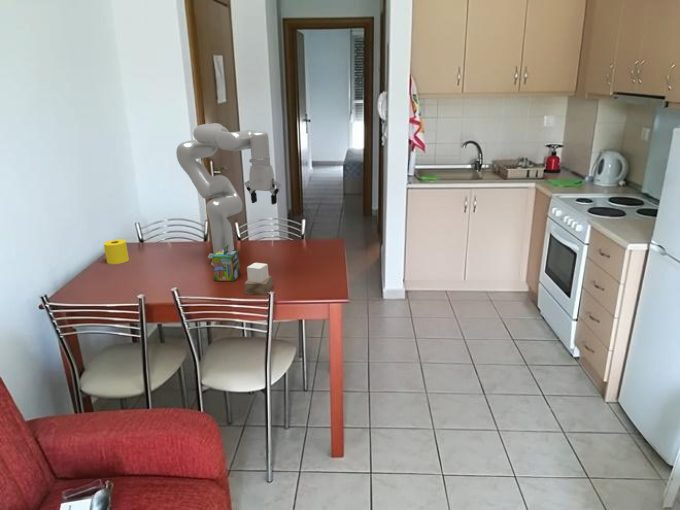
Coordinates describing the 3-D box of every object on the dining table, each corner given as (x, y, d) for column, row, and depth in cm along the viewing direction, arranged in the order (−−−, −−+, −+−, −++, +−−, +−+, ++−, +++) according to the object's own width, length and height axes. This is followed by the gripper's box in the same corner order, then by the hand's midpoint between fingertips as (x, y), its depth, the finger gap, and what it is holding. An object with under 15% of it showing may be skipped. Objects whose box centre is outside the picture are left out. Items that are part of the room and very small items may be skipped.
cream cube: (248, 281, 213) (246, 267, 211) (256, 276, 218) (254, 262, 216) (260, 283, 211) (259, 268, 209) (268, 277, 216) (267, 264, 214)
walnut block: (245, 294, 212) (244, 283, 211) (251, 286, 221) (250, 275, 219) (267, 295, 211) (266, 283, 209) (272, 287, 219) (271, 275, 218)
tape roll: (119, 264, 252) (116, 246, 249) (102, 263, 256) (99, 244, 253) (133, 258, 261) (130, 240, 258) (116, 256, 265) (113, 238, 262)
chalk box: (221, 273, 236) (217, 242, 231) (241, 274, 235) (238, 242, 230) (214, 281, 227) (210, 248, 223) (234, 281, 226) (231, 248, 221)
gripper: (238, 163, 217) (241, 203, 223) (274, 164, 210) (277, 206, 216) (248, 160, 224) (251, 200, 229) (283, 161, 217) (286, 202, 222)
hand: (264, 203), depth 222 cm, fingers open, 9 cm apart
